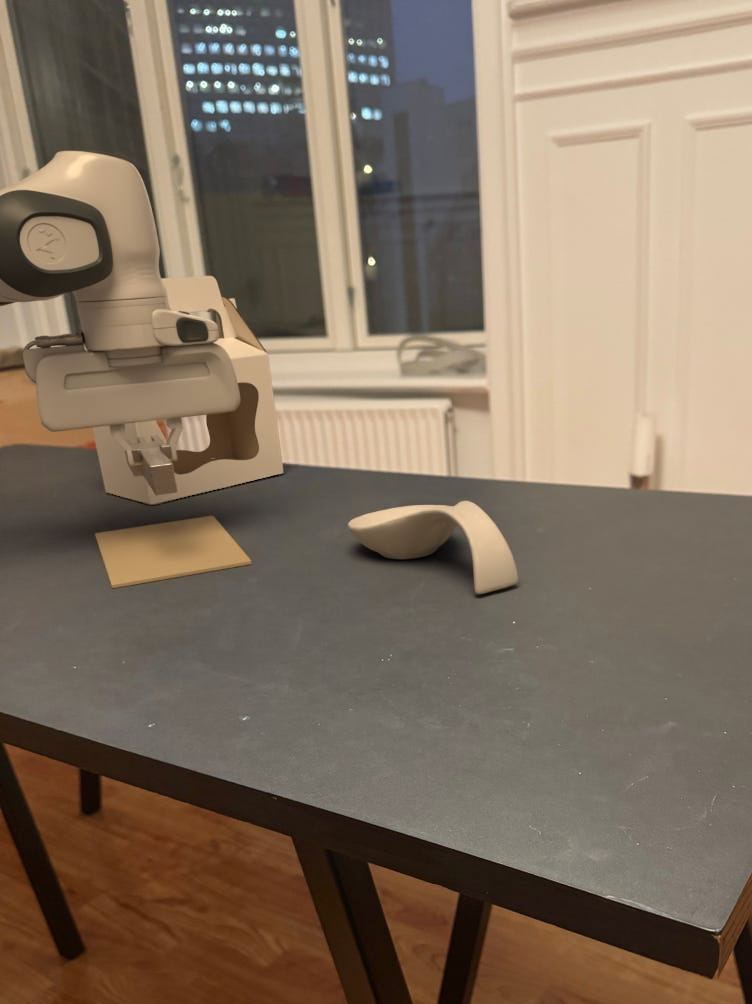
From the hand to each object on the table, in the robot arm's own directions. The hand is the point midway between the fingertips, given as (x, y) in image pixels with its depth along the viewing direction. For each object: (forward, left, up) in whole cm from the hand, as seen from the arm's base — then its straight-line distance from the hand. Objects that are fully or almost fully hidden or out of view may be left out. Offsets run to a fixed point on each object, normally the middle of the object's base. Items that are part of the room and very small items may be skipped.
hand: (153, 463), depth 100 cm
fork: (-1, +1, -2) cm, 2 cm away
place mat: (0, 0, -10) cm, 10 cm away
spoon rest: (+32, 0, -10) cm, 33 cm away
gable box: (-16, +30, -10) cm, 35 cm away
